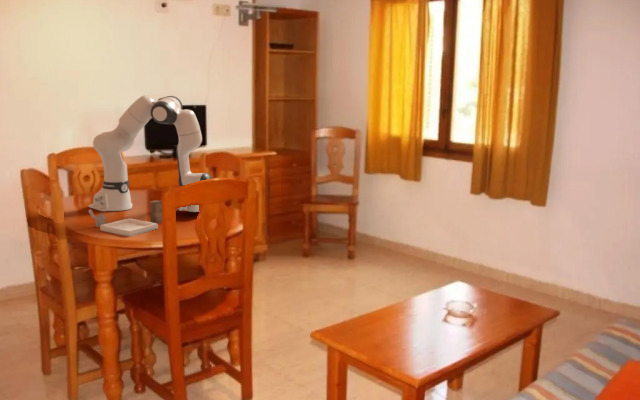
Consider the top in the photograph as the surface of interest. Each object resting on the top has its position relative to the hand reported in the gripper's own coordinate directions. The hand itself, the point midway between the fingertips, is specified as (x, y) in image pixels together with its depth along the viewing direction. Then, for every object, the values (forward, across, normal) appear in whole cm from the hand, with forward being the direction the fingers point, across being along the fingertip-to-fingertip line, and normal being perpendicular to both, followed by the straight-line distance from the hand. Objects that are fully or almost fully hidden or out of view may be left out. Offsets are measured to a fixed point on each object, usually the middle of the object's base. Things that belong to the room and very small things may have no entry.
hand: (171, 207), depth 281 cm
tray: (+26, 0, +6) cm, 26 cm away
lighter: (+30, -16, +6) cm, 34 cm away
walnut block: (+10, 0, +6) cm, 11 cm away
